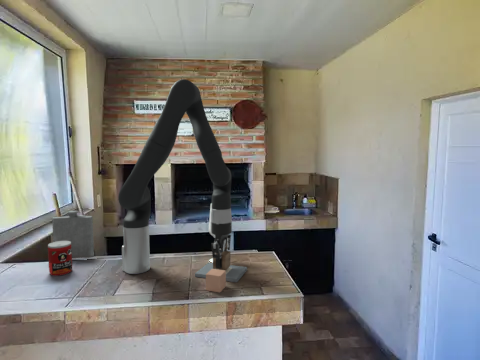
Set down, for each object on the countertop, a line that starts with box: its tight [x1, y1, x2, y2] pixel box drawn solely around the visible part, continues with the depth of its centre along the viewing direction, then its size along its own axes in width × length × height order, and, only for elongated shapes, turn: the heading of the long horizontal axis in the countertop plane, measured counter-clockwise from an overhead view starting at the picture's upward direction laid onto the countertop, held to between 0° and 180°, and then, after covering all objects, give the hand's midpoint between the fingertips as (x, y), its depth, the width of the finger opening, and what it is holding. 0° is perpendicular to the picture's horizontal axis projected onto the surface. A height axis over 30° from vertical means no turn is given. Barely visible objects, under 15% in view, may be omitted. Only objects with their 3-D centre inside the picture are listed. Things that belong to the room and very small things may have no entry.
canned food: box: [47, 241, 73, 277], centre depth 119 cm, size 8×8×11 cm
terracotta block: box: [205, 269, 227, 293], centre depth 105 cm, size 5×5×6 cm
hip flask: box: [51, 210, 95, 259], centre depth 135 cm, size 16×4×20 cm, turn 98°
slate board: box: [194, 262, 248, 283], centre depth 118 cm, size 16×12×1 cm
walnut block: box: [212, 250, 231, 270], centre depth 117 cm, size 5×5×6 cm
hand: (221, 265), depth 117 cm, fingers closed on walnut block, 4 cm apart
